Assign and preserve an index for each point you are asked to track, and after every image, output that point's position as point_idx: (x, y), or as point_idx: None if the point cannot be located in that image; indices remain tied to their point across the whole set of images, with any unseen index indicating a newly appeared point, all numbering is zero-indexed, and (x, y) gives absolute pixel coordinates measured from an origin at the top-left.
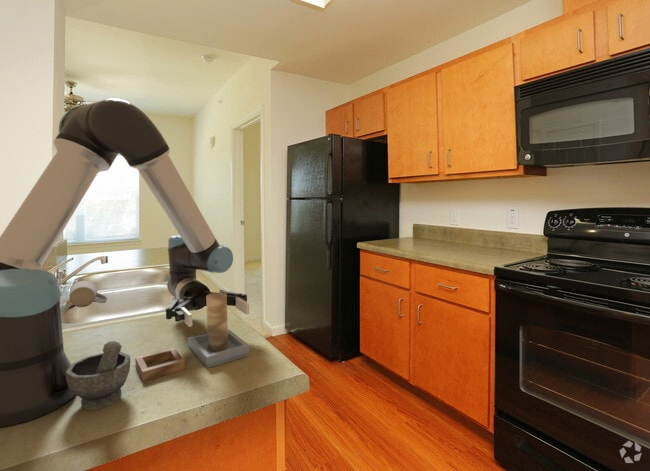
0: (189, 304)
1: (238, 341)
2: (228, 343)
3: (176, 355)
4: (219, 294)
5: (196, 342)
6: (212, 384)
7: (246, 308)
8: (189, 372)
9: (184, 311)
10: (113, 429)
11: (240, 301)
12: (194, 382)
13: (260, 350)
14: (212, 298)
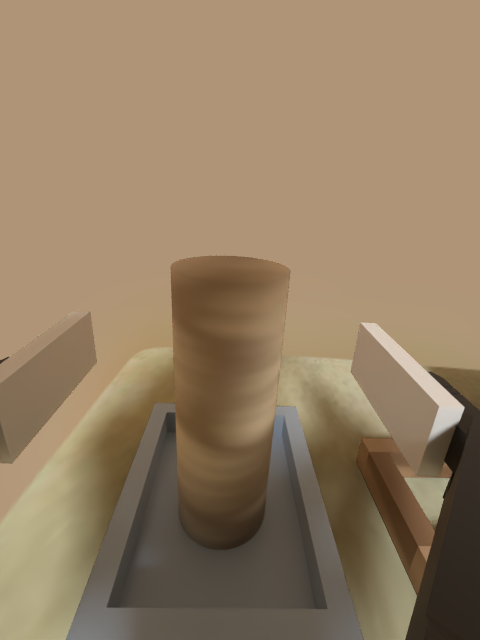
0: (426, 590)
1: (157, 443)
2: (161, 524)
3: (397, 482)
4: (209, 267)
5: (316, 528)
6: (293, 383)
7: (92, 334)
8: (341, 441)
9: (408, 354)
10: (448, 369)
11: (51, 349)
12: (329, 402)
13: (105, 440)
14: (266, 261)
